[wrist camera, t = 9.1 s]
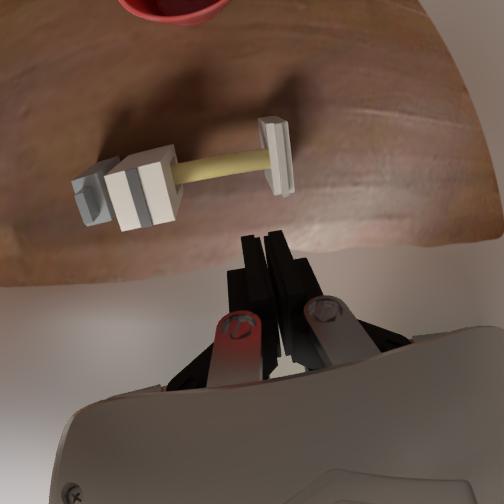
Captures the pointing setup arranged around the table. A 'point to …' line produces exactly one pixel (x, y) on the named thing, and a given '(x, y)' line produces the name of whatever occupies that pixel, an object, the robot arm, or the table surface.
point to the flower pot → (175, 10)
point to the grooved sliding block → (145, 188)
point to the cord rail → (198, 171)
